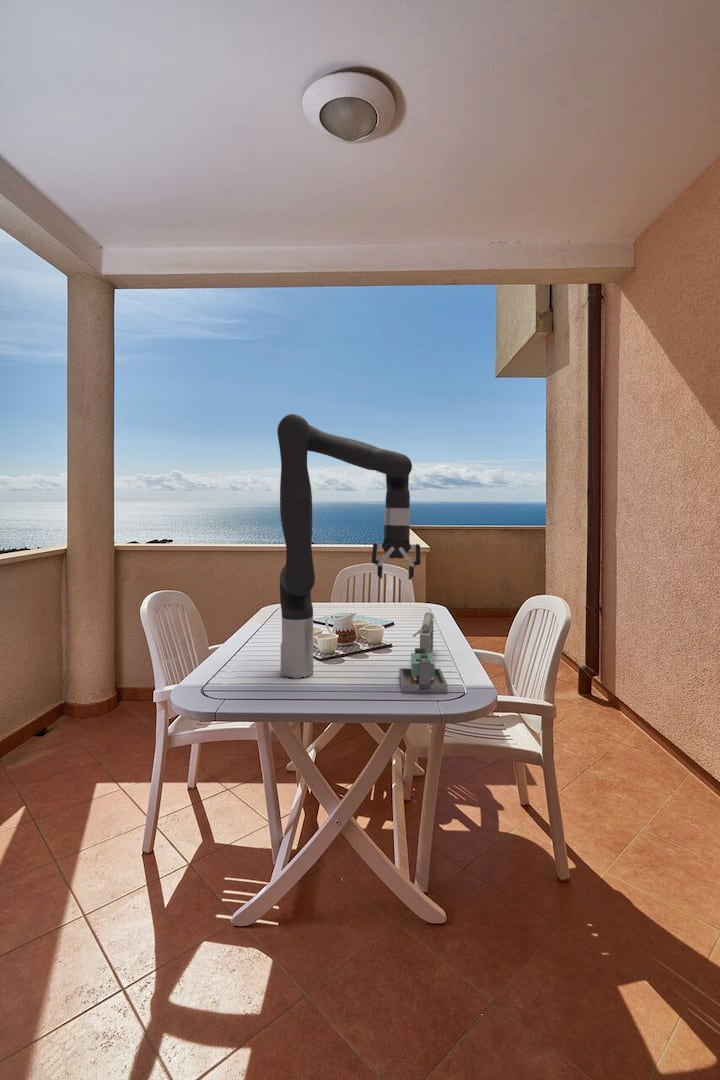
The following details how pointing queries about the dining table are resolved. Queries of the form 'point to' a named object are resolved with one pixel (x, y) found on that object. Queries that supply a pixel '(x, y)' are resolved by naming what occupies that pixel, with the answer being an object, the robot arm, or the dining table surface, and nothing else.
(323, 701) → the dining table surface
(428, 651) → the grey upright lever device
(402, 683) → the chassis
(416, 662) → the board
